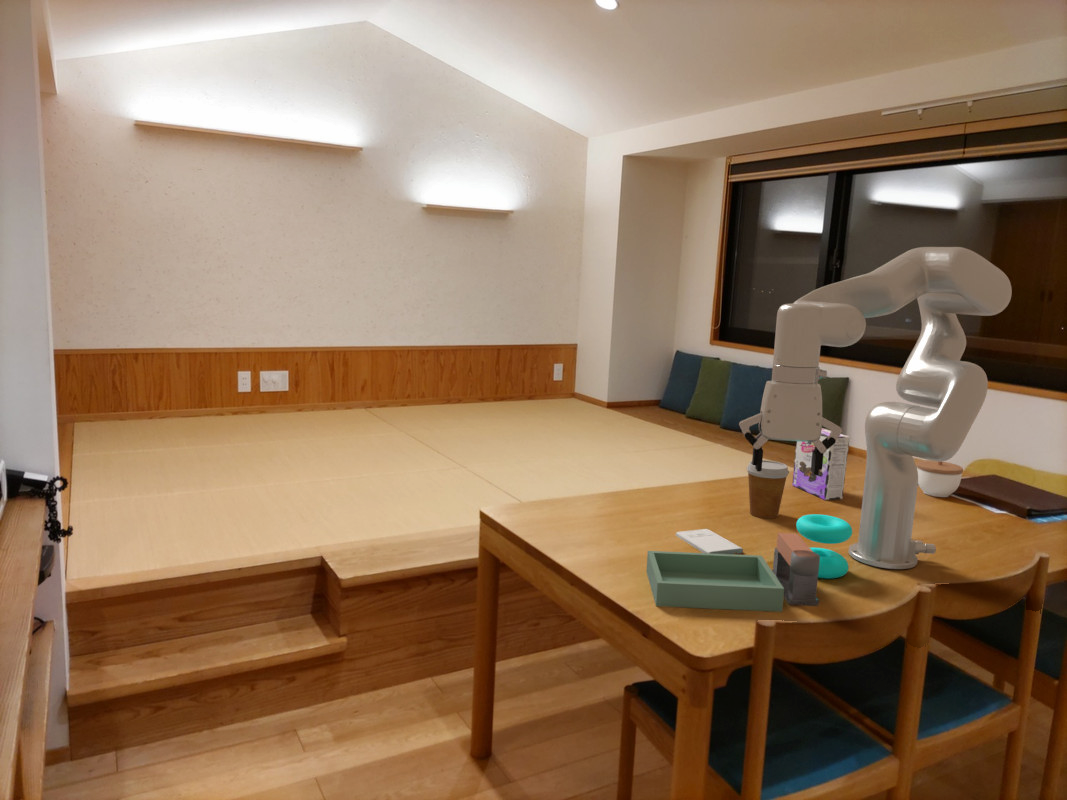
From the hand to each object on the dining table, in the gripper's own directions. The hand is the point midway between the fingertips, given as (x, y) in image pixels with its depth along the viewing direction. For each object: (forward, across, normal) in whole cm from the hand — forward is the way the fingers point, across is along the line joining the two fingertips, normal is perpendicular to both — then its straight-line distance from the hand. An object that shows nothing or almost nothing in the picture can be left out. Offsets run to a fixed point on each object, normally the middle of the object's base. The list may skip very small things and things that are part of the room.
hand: (786, 471), depth 138 cm
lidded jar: (+22, -52, -72) cm, 91 cm away
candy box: (+22, -20, -66) cm, 72 cm away
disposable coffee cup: (+22, -4, -43) cm, 48 cm away
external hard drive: (+22, +11, -19) cm, 31 cm away
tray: (+21, +12, +5) cm, 25 cm away
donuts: (+22, -10, -9) cm, 25 cm away
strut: (+16, -3, +2) cm, 16 cm away
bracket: (+21, -3, +2) cm, 21 cm away
